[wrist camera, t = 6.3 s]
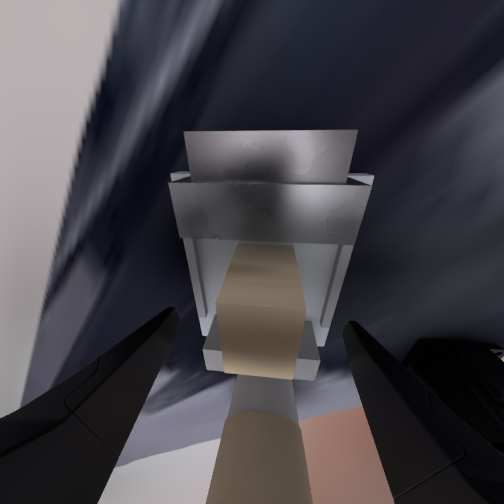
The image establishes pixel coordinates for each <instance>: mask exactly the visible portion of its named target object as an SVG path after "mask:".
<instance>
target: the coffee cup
mask: <svg viewBox="0 0 504 504" xmlns="http://www.w3.org/2000/svg"><path fill="white" fill-rule="evenodd" d="M206 504H313V503H312V497H311V490H310V484H309V477H308V471H307V464H306V458H305V452H304V445H303V439H302V433H301V429H300V427H299V422H298V415H297V409H296V402H295V395H294V388H293V383H292V381H291V380H289V379H279V378H270V377H260V376H251V375H242V374H238V376H237V379H236V383H235V387H234V392H233V396H232V400H231V405H230V409H229V414H228V417H227V418H226V420H225V424H224V428H223V433H222V437H221V441H220V445H219V450H218V454H217V458H216V463H215V467H214V471H213V475H212V479H211V484H210V488H209V492H208V496H207V501H206Z"/></svg>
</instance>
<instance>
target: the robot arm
mask: <svg viewBox="0 0 504 504" xmlns="http://www.w3.org/2000/svg"><path fill="white" fill-rule="evenodd" d="M178 323H179V314H178V311H177V308H176V307H168V308H166V309H165V310H164V311H162V312H161V313H159V314H158V315H157V316H155V317H154V318H152V319H151V320H150V321H148V322H147V323H145V324H144V325H143V326H141V327H140V328H138V329H137V330H136V331H134V332H133V333H131V334H130V335H129V336H127V337H126V338H124V339H123V340H122V341H120V342H119V343H117V344H116V345H115V346H113V347H112V348H110V349H109V350H108V351H106V352H105V353H103V354H102V355H101V356H99V357H98V358H96V359H95V360H94V361H92V362H91V363H89V364H88V365H86V366H85V367H84V368H82V369H81V370H79V371H78V372H76V373H75V374H73V375H72V376H70V377H69V378H67V379H66V380H64V381H63V382H61V383H59V384H58V385H56V386H55V387H53V388H52V389H50V390H48V391H47V392H45V393H44V394H42V395H40V396H39V397H37V398H36V399H34V400H33V401H31V402H29V403H28V404H26V405H25V406H23V407H21V408H20V409H18V410H16V411H15V412H13V413H11V414H9V415H6V416H5V417H2V418H0V504H97V503H98V501H99V499H100V497H101V495H102V493H103V490H104V488H105V486H106V484H107V482H108V480H109V478H110V475H111V473H112V471H113V469H114V467H115V465H116V463H117V461H118V459H119V456H120V454H121V452H122V450H123V448H124V445H125V443H126V441H127V439H128V437H129V435H130V433H131V430H132V428H133V426H134V424H135V422H136V420H137V418H138V415H139V413H140V411H141V409H142V407H143V405H144V403H145V401H146V398H147V396H148V394H149V392H150V390H151V388H152V386H153V383H154V381H155V379H156V377H157V375H158V373H159V371H160V368H161V366H162V364H163V362H164V360H165V358H166V356H167V353H168V351H169V349H170V346H171V343H172V341H173V338H174V335H175V332H176V329H177V326H178ZM343 338H344V342H345V347H346V352H347V356H348V361H349V365H350V369H351V372H352V375H353V378H354V381H355V384H356V387H357V390H358V393H359V396H360V399H361V402H362V405H363V408H364V412H365V415H366V418H367V420H368V424H369V427H370V430H371V433H372V436H373V438H374V442H375V445H376V448H377V451H378V454H379V457H380V460H381V463H382V466H383V469H384V472H385V475H386V478H387V481H388V484H389V487H390V491H391V493H392V496H393V499H394V503H395V504H504V362H503V361H502V360H501V358H502V357H503V356H504V349H503V348H501V347H500V346H496V345H484V344H472V343H460V342H448V341H436V340H422V341H420V342H419V343H418V344H417V345H416V347H415V348H414V350H413V351H412V353H411V354H410V356H409V357H408V359H407V360H406V362H405V363H404V364H403V365H402V364H401V363H400V362H399V361H398V360H397V359H396V358H395V357H394V356H393V355H392V354H391V353H390V352H388V351H387V350H386V349H385V348H384V347H383V346H382V345H381V344H380V343H379V342H378V341H377V340H376V339H375V338H374V337H372V336H371V335H370V334H369V333H368V332H367V331H366V330H365V329H364V328H363V327H362V326H361V325H360V324H359V323H358V322H356V321H349V320H348V321H347V322H346V324H345V327H344V330H343Z"/></svg>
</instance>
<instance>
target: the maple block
mask: <svg viewBox="0 0 504 504" xmlns="http://www.w3.org/2000/svg"><path fill="white" fill-rule="evenodd" d="M215 305H216V312H217V320H218V327H219V335H220V342H221V350H222V357H223V365H224V372H225V373H232V374H242V375H251V376H260V377H270V378H279V379H289V380H293V378H294V373H295V368H296V363H297V358H298V352H299V347H300V342H301V337H302V332H303V326H304V321H305V316H306V311H307V309H306V304H305V299H304V294H303V289H302V284H301V279H300V275H299V270H298V265H297V260H296V255H295V250H294V246H293V245H276V244H253V243H238V244H237V247H236V250H235V252H234V255H233V258H232V260H231V263H230V265H229V268H228V271H227V273H226V276H225V279H224V281H223V284H222V287H221V289H220V292H219V295H218V297H217V300H216V302H215Z"/></svg>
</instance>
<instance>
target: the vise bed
mask: <svg viewBox="0 0 504 504" xmlns="http://www.w3.org/2000/svg"><path fill="white" fill-rule="evenodd" d="M188 176H190V172H182V171H180V172H175V173H171V179H172V181H175V180H178V179H181V178H184V177H188ZM347 177H350V178H353V179H355V180H358V181H361V182H363V183H366V184H369V185H371V186H372V183H373V179H374V176H373V175H369V174H366V173H348V176H347ZM183 241H184V246H185V251H186V256H187V261H188V266H189V271H190V276H191V281H192V286H193V291H194V296H195V301H196V306H197V311H198V316H199V320H200V325H201V330H202V335H203V336H207V338H206V341H205V344H204V347H203V353H204V358H205V363H206V368H207V370H215V371H224V365H223V357H222V350H221V342H220V335H219V327H218V320H217V312H216V305H215V302H216V300H217V297H218V295H219V292H220V289H221V287H222V284H223V281H224V279H225V276H226V273H227V271H228V268H229V265H230V263H231V260H232V258H233V255H234V252H235V250H236V247H237V244H238V243H253V244H276V245H293V246H294V250H295V255H296V260H297V265H298V270H299V275H300V279H301V284H302V289H303V294H304V299H305V304H306V309H307V311H306V316H305V321H304V326H303V332H302V337H301V342H300V347H299V352H298V358H297V363H296V368H295V373H294V378H293V379H300V380H309V381H314V380H315V377H316V374H317V370H318V367H319V364H320V357H319V352H318V348H317V346H324V345H325V341H326V338H327V334H328V331H329V328H330V324H331V321H332V318H333V314H334V311H335V307H336V304H337V301H338V297H339V294H340V291H341V287H342V284H343V280H344V277H345V274H346V270H347V267H348V264H349V260H350V257H351V253H352V250H353V247H354V245H336V244H313V243H289V242H266V241H242V240H218V239H195V238H183Z"/></svg>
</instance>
